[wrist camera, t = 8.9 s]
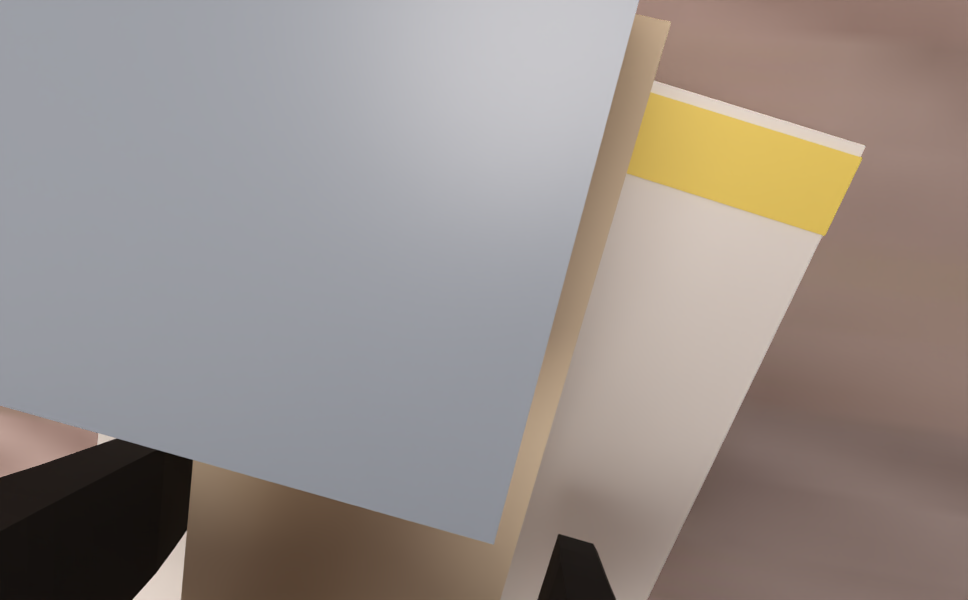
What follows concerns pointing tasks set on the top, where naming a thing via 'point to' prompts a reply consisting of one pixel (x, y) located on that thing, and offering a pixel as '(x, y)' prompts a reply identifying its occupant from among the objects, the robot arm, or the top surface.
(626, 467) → the dock
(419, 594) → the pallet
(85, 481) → the robot arm
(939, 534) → the top surface
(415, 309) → the pale grey square box
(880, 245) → the top surface
